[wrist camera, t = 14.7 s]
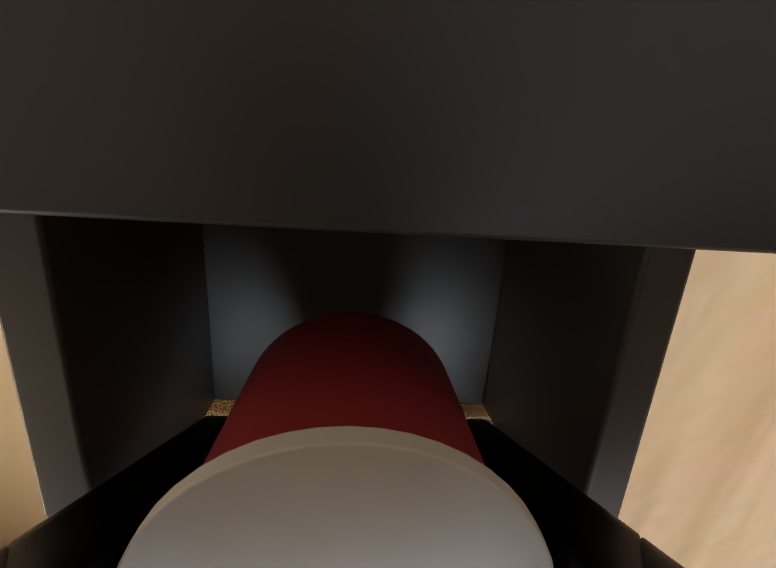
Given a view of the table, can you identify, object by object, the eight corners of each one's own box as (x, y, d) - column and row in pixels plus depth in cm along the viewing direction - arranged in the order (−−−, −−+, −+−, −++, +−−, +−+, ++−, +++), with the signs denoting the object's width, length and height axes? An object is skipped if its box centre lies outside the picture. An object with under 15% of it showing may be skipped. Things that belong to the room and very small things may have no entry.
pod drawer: (483, 562, 16) (564, 822, 10) (198, 566, 16) (82, 857, 9) (576, 34, 11) (892, -152, 4) (142, -8, 10) (-262, -322, 4)
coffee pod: (451, 498, 10) (520, 754, 6) (237, 499, 10) (135, 775, 5) (478, 301, 8) (598, 445, 4) (225, 291, 8) (70, 440, 4)
